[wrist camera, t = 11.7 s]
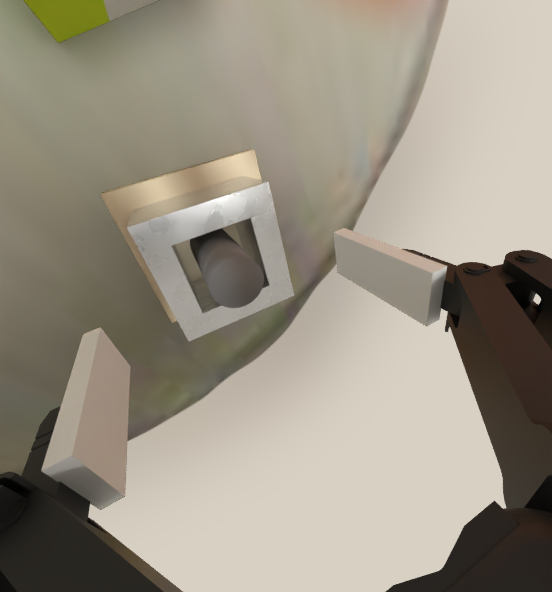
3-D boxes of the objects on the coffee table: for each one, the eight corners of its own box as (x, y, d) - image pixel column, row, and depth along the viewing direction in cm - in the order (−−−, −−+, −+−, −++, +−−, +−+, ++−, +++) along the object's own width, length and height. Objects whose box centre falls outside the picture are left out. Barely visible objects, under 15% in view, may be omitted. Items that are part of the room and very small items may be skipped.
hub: (181, 305, 25) (188, 341, 20) (131, 209, 20) (126, 227, 15) (267, 270, 27) (294, 295, 22) (242, 175, 22) (268, 181, 17)
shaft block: (171, 316, 26) (181, 391, 18) (102, 192, 20) (69, 219, 12) (279, 272, 29) (332, 319, 21) (249, 149, 23) (308, 147, 14)
